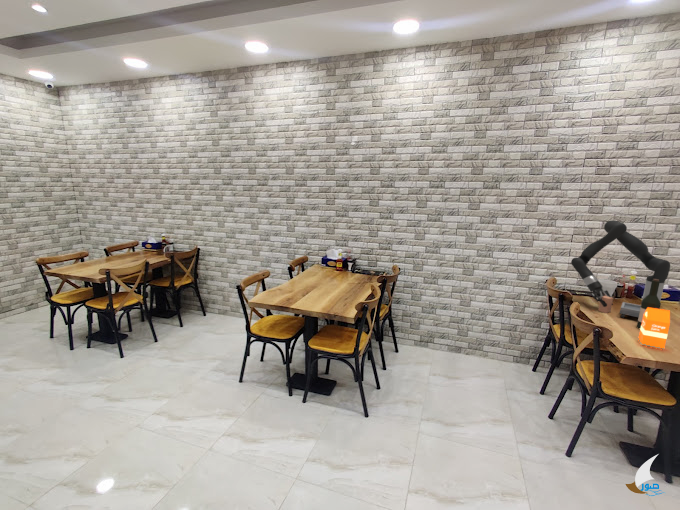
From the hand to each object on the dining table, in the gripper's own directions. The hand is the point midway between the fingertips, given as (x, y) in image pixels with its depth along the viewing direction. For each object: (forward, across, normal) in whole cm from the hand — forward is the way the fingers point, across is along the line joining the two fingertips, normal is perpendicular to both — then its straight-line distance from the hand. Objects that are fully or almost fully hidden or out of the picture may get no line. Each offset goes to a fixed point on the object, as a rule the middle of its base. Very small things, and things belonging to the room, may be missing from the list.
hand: (608, 305), depth 214 cm
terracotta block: (+2, 0, +5) cm, 5 cm away
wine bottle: (+21, -6, -14) cm, 26 cm away
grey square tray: (+12, +6, -5) cm, 14 cm away
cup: (-10, +27, +17) cm, 34 cm away
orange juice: (+30, -28, -23) cm, 47 cm away
